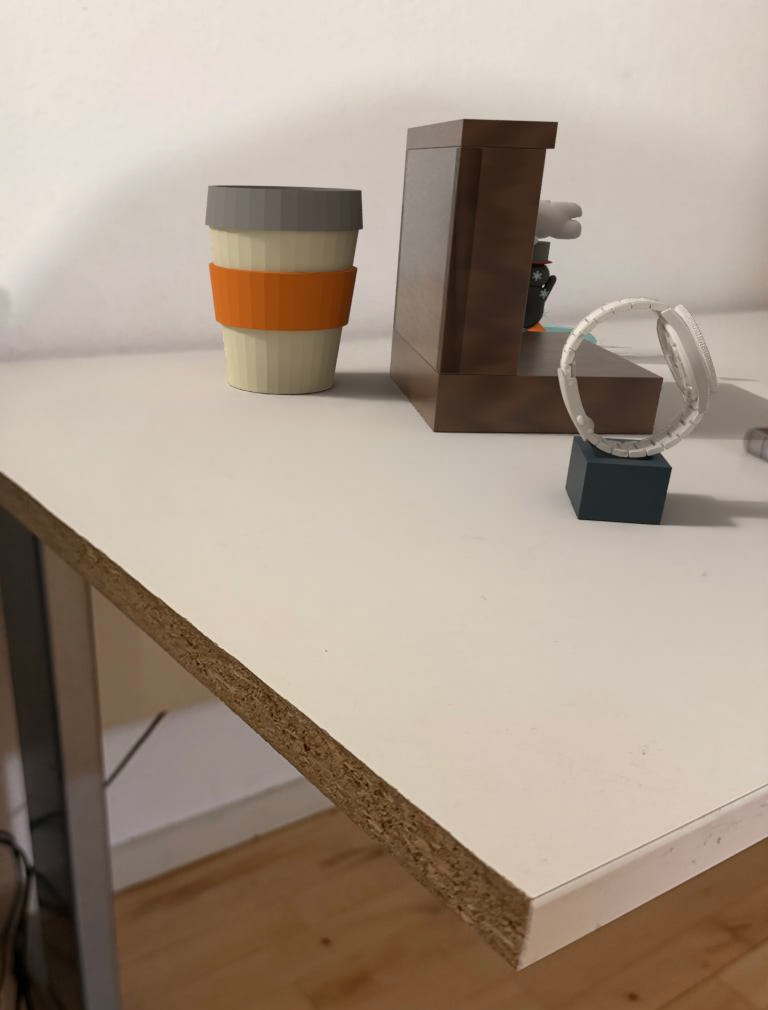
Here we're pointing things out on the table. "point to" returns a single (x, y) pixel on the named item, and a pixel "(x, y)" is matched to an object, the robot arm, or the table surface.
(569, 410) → the watch
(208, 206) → the reusable coffee cup
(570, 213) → the penguin figurine
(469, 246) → the shelf
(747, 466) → the table surface
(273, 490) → the table surface
